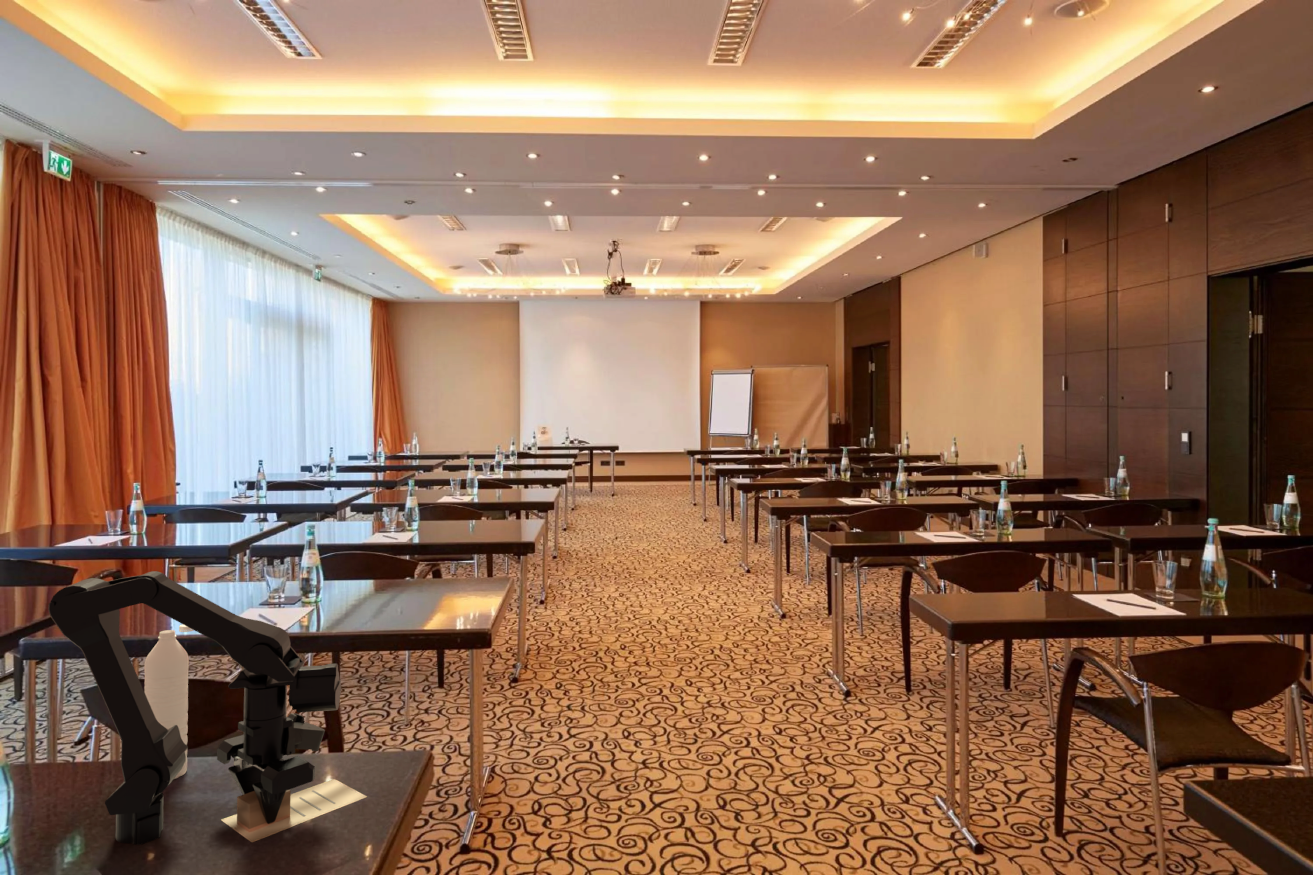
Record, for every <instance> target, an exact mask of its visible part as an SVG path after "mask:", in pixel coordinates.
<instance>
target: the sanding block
mask: <svg viewBox="0 0 1313 875" xmlns="http://www.w3.org/2000/svg"><path fill="white" fill-rule="evenodd" d="M291 790H292V789H290V790H287V791H286V793H285V795H284V797H283V800H282V803H281V806H280V809H279V811H278V814H277V817H276V820H275V821H274V822H273V823H275V822H278V821H281V820H283V819H286V818H288V817H290V796H291V794H292V793H291V792H292V791H291ZM236 802H237V803H236V807H237V808H236V814H237V824H238V825H240V826H241V827H242V828H244V829H245V830H247V831H248V832H252V831H255V830H257V829H260V828H262V827H265V826H268V825H270V824H273V823H270V824H267V823H266V820H265V818H264V815H263V813H262V810H261V807H260V804H259V801H258V799H257V796H256V793H255V791H252V792H250V793H247V794H244V795H243V794H242V795H241V794H240V795H238V796H237V798H236Z"/></svg>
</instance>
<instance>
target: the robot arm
mask: <svg viewBox="0 0 1313 875" xmlns="http://www.w3.org/2000/svg"><path fill="white" fill-rule="evenodd" d="M139 604H143V605H146V606H148V607H150V608H152V609H153V610H156V611H157V612H159V613H161V614H163V615H165V616H166V617H168V618H170V619H172V620H174V621H176V622H178V623H179V624H180V625H182V624H183V625H185V626H187V627H189V628H191V630H192V629H193V630H194V631H195V632H196V633H199V634H200V635H202V636H204V637H206V638H208V639H210V640H212V641H214V643H215V642H216V643H217V644H218V645H219V646H221V647H222V648H223V650H224V651H225V653H226V654H228V656H229V657H230V658H231V659H232V660H233V661H234V662H236V663H237V664H238V665H239V666H240V667H242V669H241V670H240V672H239V674H238V675H236V677H234V679H233V680H232V681H231V682H230V683H229V684H228V688H229V689H230V690H234V689H244V690H243V691H244V692H243V694H244V696H243V721H242V720H241V721H239V722H238V723H237V729H238V730H240V731H241V732H243V734H241V735H237V736H234V737H230V738H227V739H224V740H223V741H222V742H220V744H219V745H218V746H217V748H216V749H217V750H216V754H217V755H216V760H217V761H218V762H220V763H222V764H223V765H226V764H229V763H230V761H232V758H233V766H229V767H228V772H229V773H230V774H231V776H232V778H233V780H234V782H235V783H236V785H237V787H238V789H239V790H240V792H241V794H242V795H244V794H247V793H250V792H252V791H255V793H256V796H257V799H258V801H259V804H260V807H261V810H262V813H263V815H264V818H265V820H266V823H267V824H270V823H273V822H274V821H275V820H276V817H277V814H278V811H279V809H280V806H281V803H282V800H283V797H284V795H285V793H286V791H287V790H292V789H296V788H297V787H301V786H303V785H307V784H308V783H312V782H313V781H314V780H315V777H316V776H315V774H316V773H315V772H316V769H315V768H316V767H315V765H313V764H312V763H311V762H310V761H307V760H305V759H303V758H302V757H300V756H298V755H297V756H294V757H289V758H286V759H283V757H284V756H290V755H294V754H296V750H307V751H308V750H310V751H312V752H318V751H320V747H321V744H322V740H323V737H324V735H325V731H326V729H324V728H322V727H320V726H318V725H316V724H312V723H309V722H306V721H305V716H303V715H302V714H299V713H314V712H326V711H327V712H329V711H338V709H339V706H340V703H341V701H340V700H341V691H342V682H341V680H340V673H339V664H338V663H328V664H323V665H322V664H321V665H310V666H309V665H308V666H307V665H306V666H304V665H305V661H304V660H303V659H302V658H301V657H300V655H299V654H298V653H297V652H296V651H295V650H294V648H293V647H292V646H291V639H290V634H288V632H287V631H286V630H285V629H283V628H282V627H279V626H276V625H273V624H271V623H269V622H268V623H267V622H264V621H262V620H258V619H252V618H246V617H242V616H240V615H237V614H235V613H233V612H231V611H229V610H227V609H226V608H224V607H222V606H220V605H219V604H216V603H215V602H213V601H211V600H209V599H207V598H205V597H203V596H201V595H200V594H198V593H197V592H194V591H193V590H191V589H189V588H187V587H185V586H183V585H181V584H180V583H178V582H176V581H174V580H172V579H171V578H169V577H168V576H167V575H166V574H164V573H163V572H160V571H155V570H154V571H148V572H146V573H143V574H140V575H134V576H128V577H127V576H126V577H122V578H121V577H120V578H118V579H112V580H104V579H101V578H98V577H97V578H96V577H95V578H92V577H91V578H86V579H83V580H80V581H78V582H75V583H73V584H70V585H68V586H65V587H63V588H61V589H60V590H58V591H57V592H55V594H54V595H53V596H52V598H51V600H50V602H49V603H48V610H47V611H48V614H49V616H50V617H51V620H52V621H53V622H54V624H55V625H56V627H57V628H58V629H59V631H60V633H62V635H63V637H65V638H67V639H68V640H69V641H70V642H71V643H73V644H74V645H75V646H77V647H78V648H79V649H80V650H81V652H82V654H83V657H84V659H85V660H86V662H87V665H88V667H89V670H90V671H91V674H92V676H93V679H94V681H95V683H96V685H97V687H98V688H97V689H98V690H99V692H100V694H101V697H102V699H103V701H104V704H105V706H106V708H107V711H108V713H109V716H110V717H111V719H112V722H113V725H114V727H115V728H116V732H117V733H118V736H119V738H120V741H121V742H120V744H121V748H120V749H121V750H120V767H121V771H122V772H121V773H122V777H123V782H122V783H121V784H120V785H119V786H118V787H117V788H116V789H115V790H114V791H113V792H112V793H111V794H110V795H109V797H107V798H106V800H105V801H104V804H105V807H106V810H107V812H108V815H110V816H115V840H116V842H118V843H121V844H133V845H137V846H140V845H143V844H146V843H149V842H152V841H156V840H157V839H159V838H161V832H162V831H163V829H164V793H163V792H164V791H165V790H166V789H167V788H168V787H169V785H170V784H171V783H172V782H173V781H174V780H175V779H174V778H175V777H176V775H177V774H178V773H179V772H180V771H181V769H182V767H183V765H184V763H185V761H186V755H185V751H186V750H187V751H188V749H189V746H188V744H187V745H186V744H185V743H184V742H183V741H182V739H181V736H180V731H179V728H178V726H177V725H174V726H173V727H171V728H169V729H166V728H165V727H164V726H162V725H161V724H160V723H159V722H158V721H157V720H156V718H155V715H154V713H153V711H152V709H151V706H150V704H149V702H148V699H147V697H146V695H145V692H144V691H145V689H144V687H143V686H142V683H141V681H140V679H139V676H138V675H137V671H136V669H135V668H134V665H133V662H132V661H131V658H130V656H129V654H128V651H127V649H126V647H125V645H124V644H125V643H124V642H123V640H122V638H121V634H120V610H121V609H124V608H128V607H131V606H135V605H136V606H137V605H139ZM288 686H289V688H288ZM287 689H288V690H287ZM287 701H288V702H287ZM287 704H288V706H290V707H291V708H292V710H291V711H296V712H297V713H293V712H292V713H290V714H288V716H287V711H288V710H287Z"/></svg>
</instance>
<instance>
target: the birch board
mask: <svg viewBox="0 0 1313 875" xmlns="http://www.w3.org/2000/svg"><path fill="white" fill-rule="evenodd" d="M366 798H368V796H367V795H365V794H363V793H361V792H359V791H357V790H356V789H354V788H352V787H350V786H349V785H346V784H345V783H342V782H341V781H339V780H337V779H335V778H333V779H329V780H327V781H325V782H321V783H318V784H316V785H313V786H311V787H308V788H305V789H302V790H299V791H297V792H294V793H291V796H290V817H288V818H286V819H283V820H281V821H278V822H275V823H273V824H270V825H268V826H265V827H262V828H260V829H257V830H255V831H252V832H248V831H247V830H245V829H244V828H242V827H241V826H240V825H238V824H237V813H236V814H233V815H231V816H227V817H225V818H221V819H220V820H221V822H223V823H224V824H226V825H227V826H229V828H231V829H232V830H234V831H235V832H237V834H239V835H241V836H242V837H244V838H245V839H246V840H248V841H249V842H250V843H255V842H256V841H259V840H262V839H264V838H267V837H269V836H273V835H274V834H277V833H280V832H282V831H285V830H287V829H290V828H293V827H295V826H298V825H299V824H302V823H305V822H308V821H311V820H313V819H316V818H318V817H321V816H322V815H326V814H328V813H330V812H333V811H335V810H338V809H340V808H343V807H346V806H348V805H351V804H353V803H356V802H359V801H360V800H363V799H366Z"/></svg>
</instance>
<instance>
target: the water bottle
mask: <svg viewBox="0 0 1313 875" xmlns="http://www.w3.org/2000/svg"><path fill="white" fill-rule="evenodd" d="M178 629H179V630H178V631H179V632H180V633H188V632H194V631H195V630H193V629H191V628H189V627H187V626H185V625H183V624H180V625H179V627H178ZM176 637H178V636H177V635H176V630H173V629H166V630H162V631H159V636H158V637H157V639H158V641H157V643H156V644H155V645H154V647H152V649H151V651H150V652H149V653H148V654H147V656H146V658H145V660H144V665H143V666H144V687H143V690H144V692H145V695H146V697H147V699H148V702H149V704H150V706H151V709H152V711H153V713H154V715H155V718H156V720H157V721H158V722H159V723H160V724H161V725H162V726H164V727H165V728H166V729H169V728H171V727H173V726H174V725H177V726H178V728H179V731H180V736H181V739H182V741H183V742H184V743H185V744H186V745H187V746H188V735H187V734H188V729H189V728H188V727H189V726H188V722H189V720H188V719H189V715H188V711H189V698H188V697H189V685H188V684H189V662H190V660H189V654H188V652H187V651H186V649H185V648H184V647H183V645H182V644H181V643H180V642H179V640H177V638H176ZM185 755H186V761H185V763H184V765H183V767H182V769H181V771H180V772H179V773H178V774H177V775H176V777H175V778H174V779H173V780H175V779H179V778H180V777H182V776H183V775H186V772H187V771H188V757H187V756H188V749H187V750H186V751H185Z"/></svg>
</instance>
